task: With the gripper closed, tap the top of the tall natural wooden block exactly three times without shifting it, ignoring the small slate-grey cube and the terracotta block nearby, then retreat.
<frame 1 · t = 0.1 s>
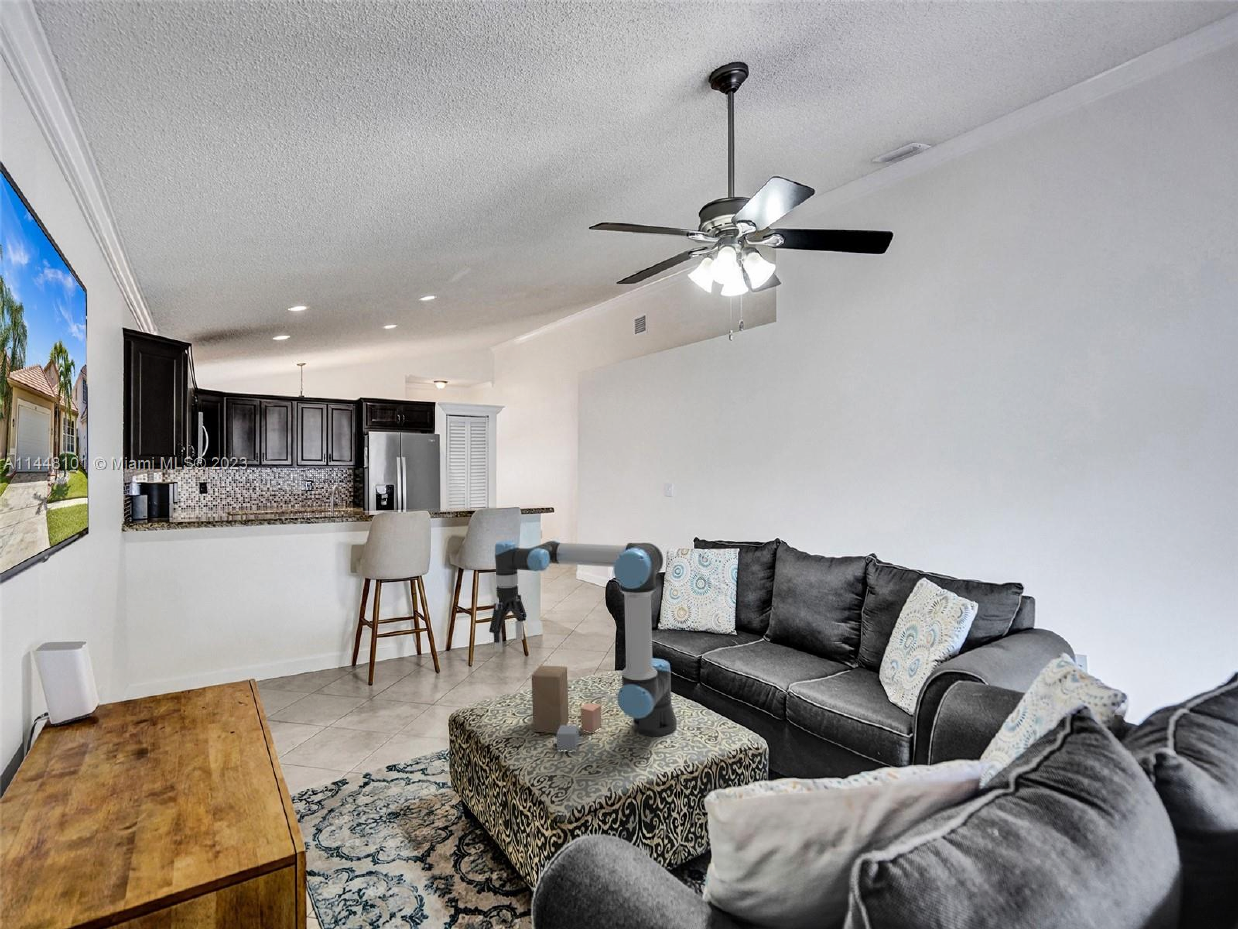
hand: (509, 645, 224), 28 cm above the table, fingers open, 13 cm apart
wooden block: (551, 727, 221), on the table
terracotta block: (591, 729, 218), on the table
slate cube: (568, 747, 206), on the table
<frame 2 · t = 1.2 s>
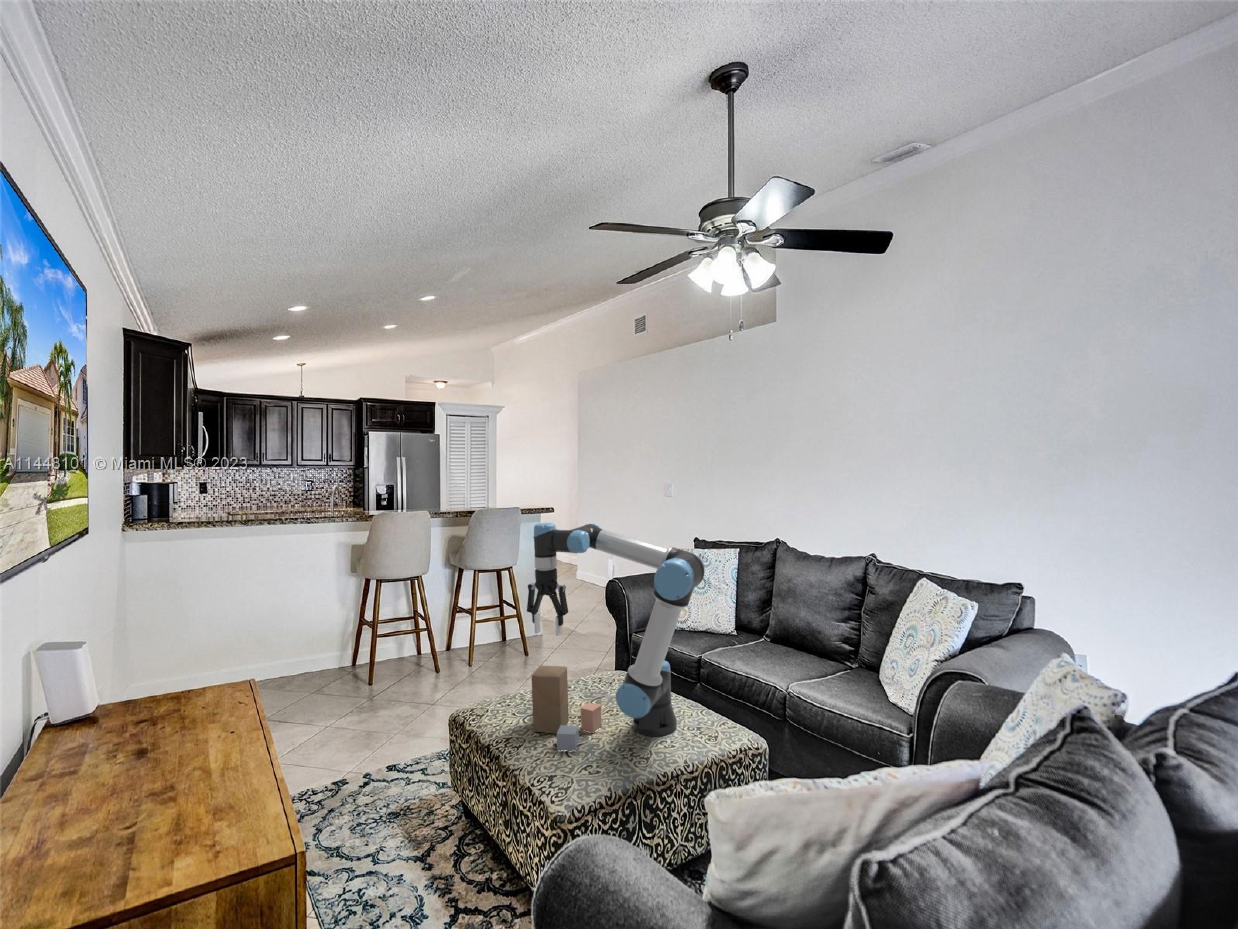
hand: (548, 633, 219), 33 cm above the table, fingers open, 8 cm apart
nothing on the table moved.
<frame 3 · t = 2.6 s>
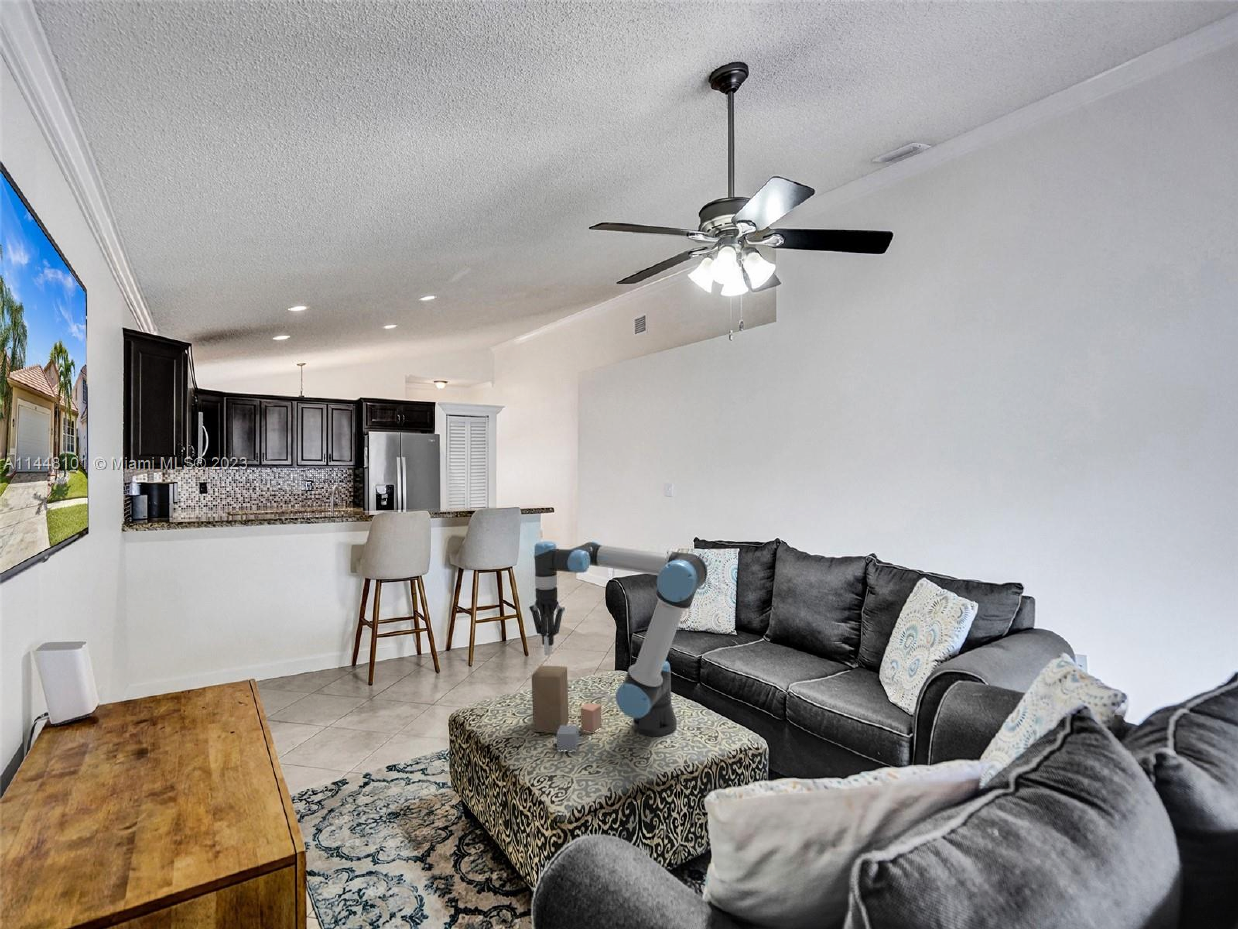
hand: (548, 654, 220), 26 cm above the table, fingers closed
nothing on the table moved.
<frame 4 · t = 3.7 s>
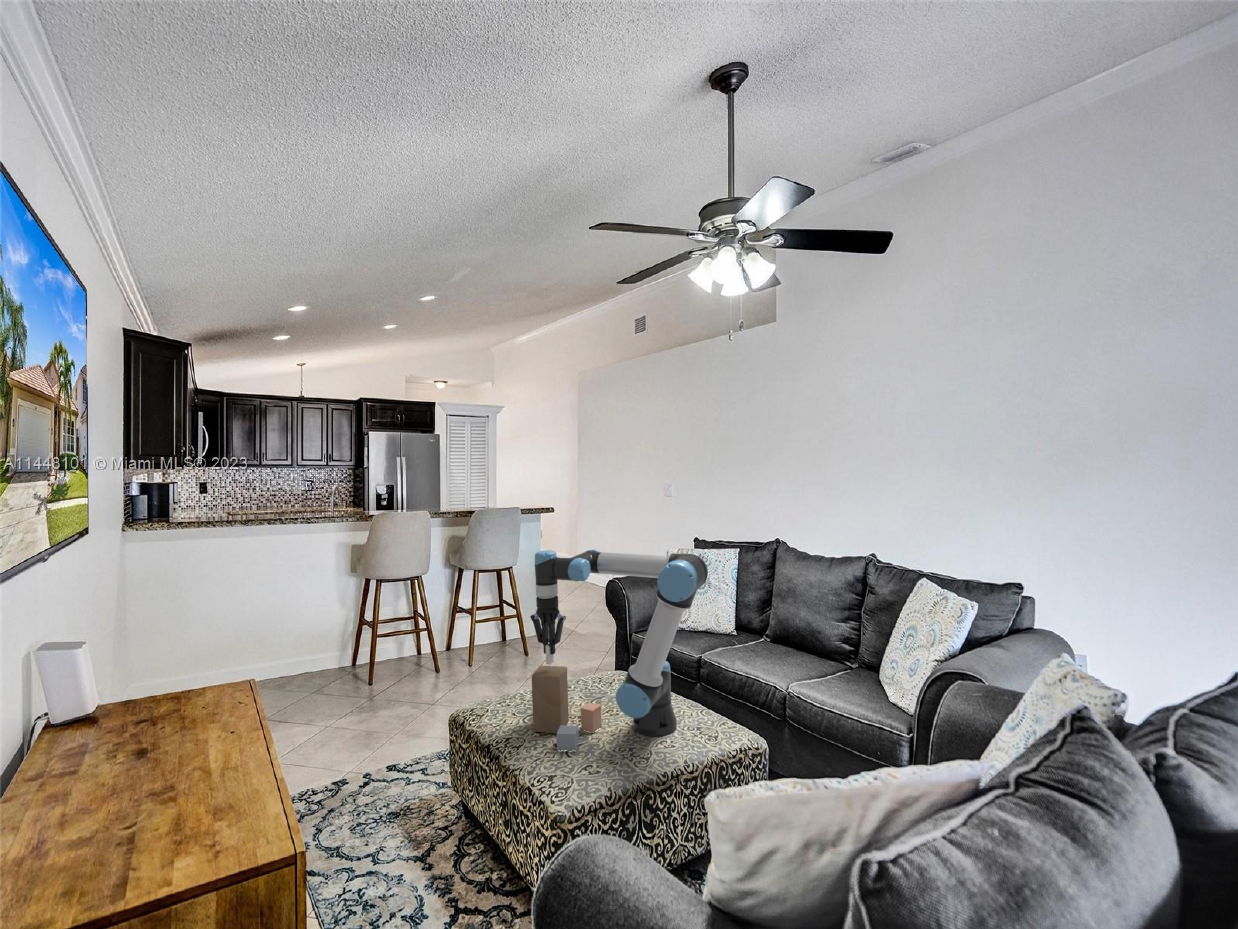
hand: (550, 663, 220), 23 cm above the table, fingers closed
nothing on the table moved.
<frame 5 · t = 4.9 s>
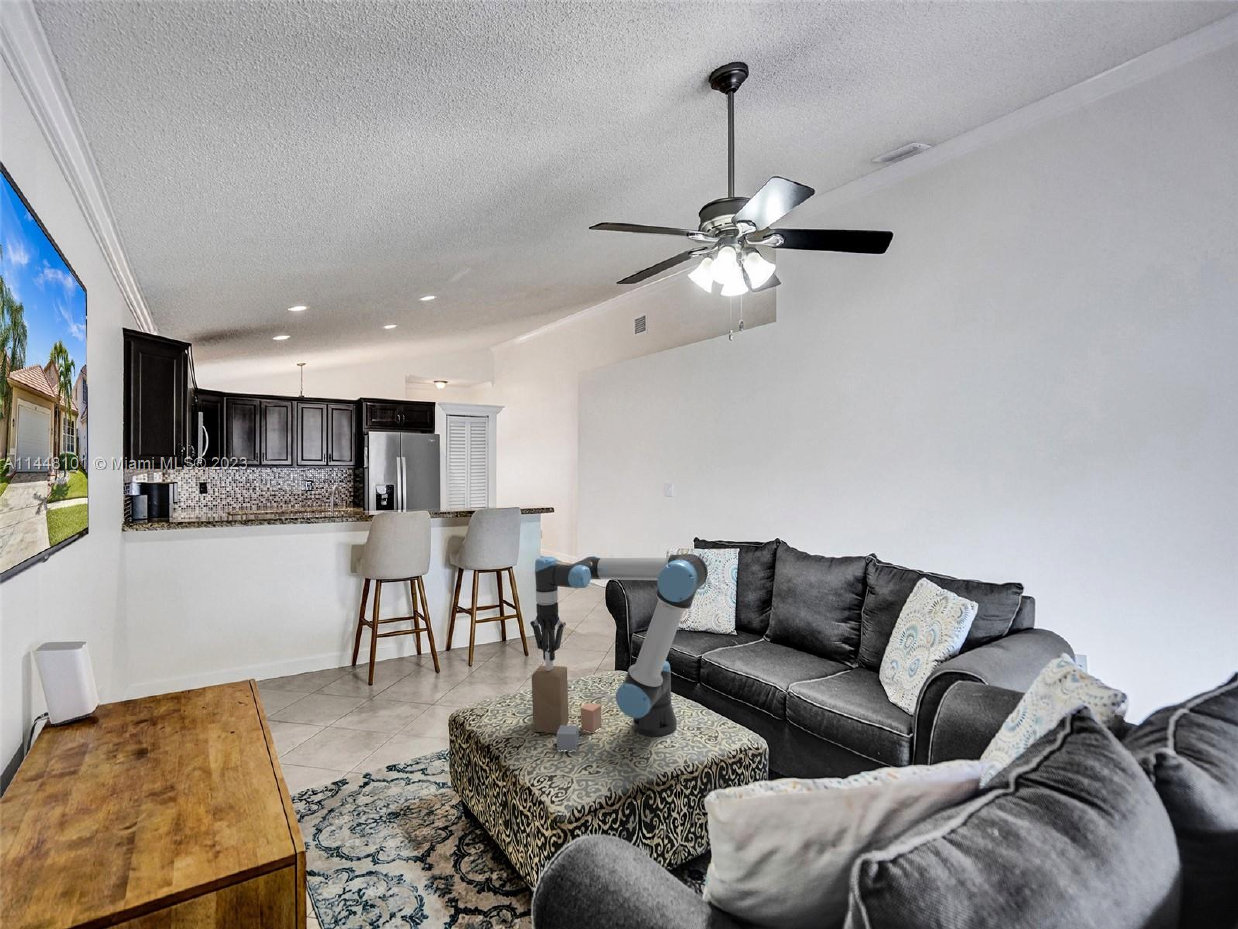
hand: (549, 669, 220), 21 cm above the table, fingers closed
nothing on the table moved.
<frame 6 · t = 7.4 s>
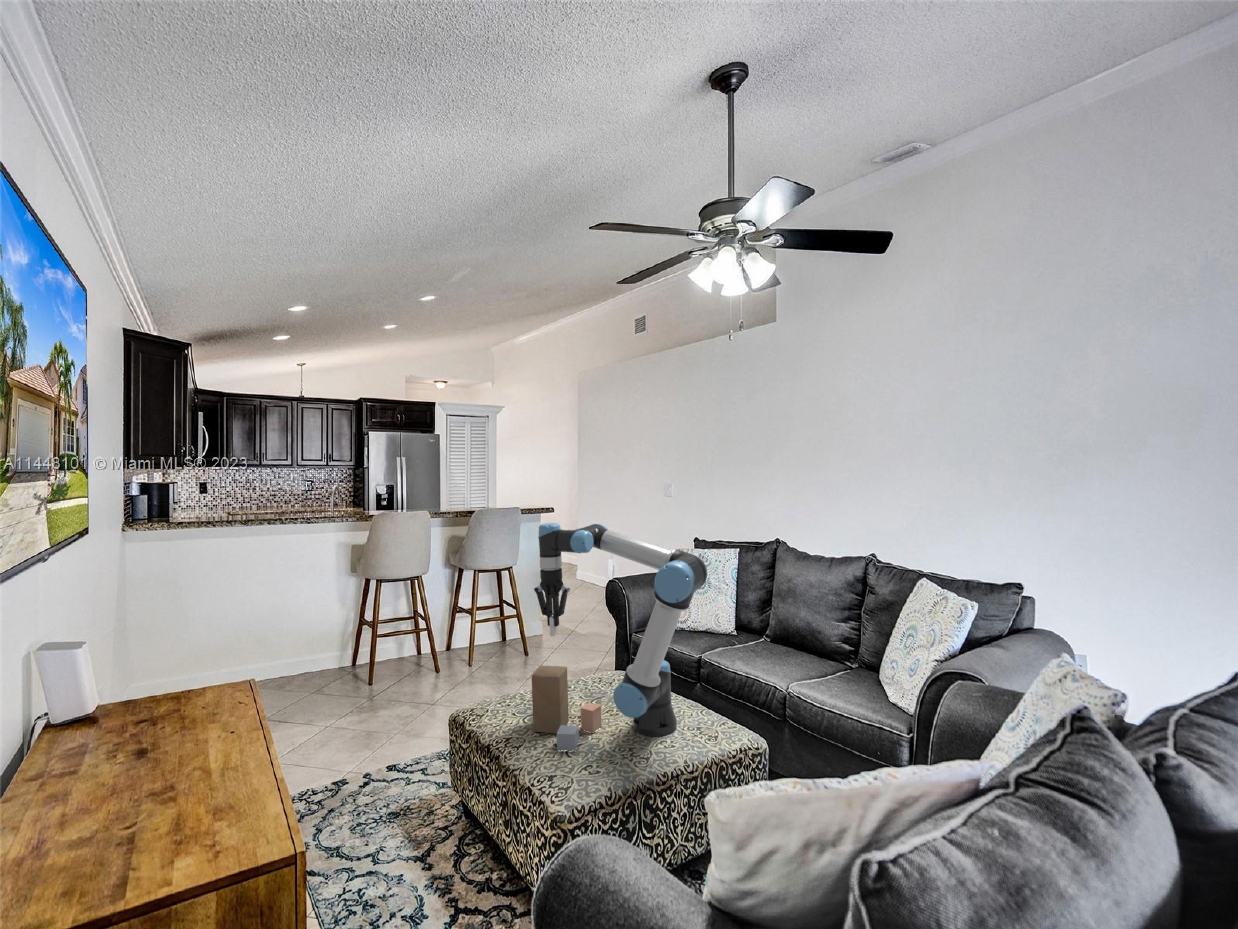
hand: (553, 635, 220), 32 cm above the table, fingers closed
nothing on the table moved.
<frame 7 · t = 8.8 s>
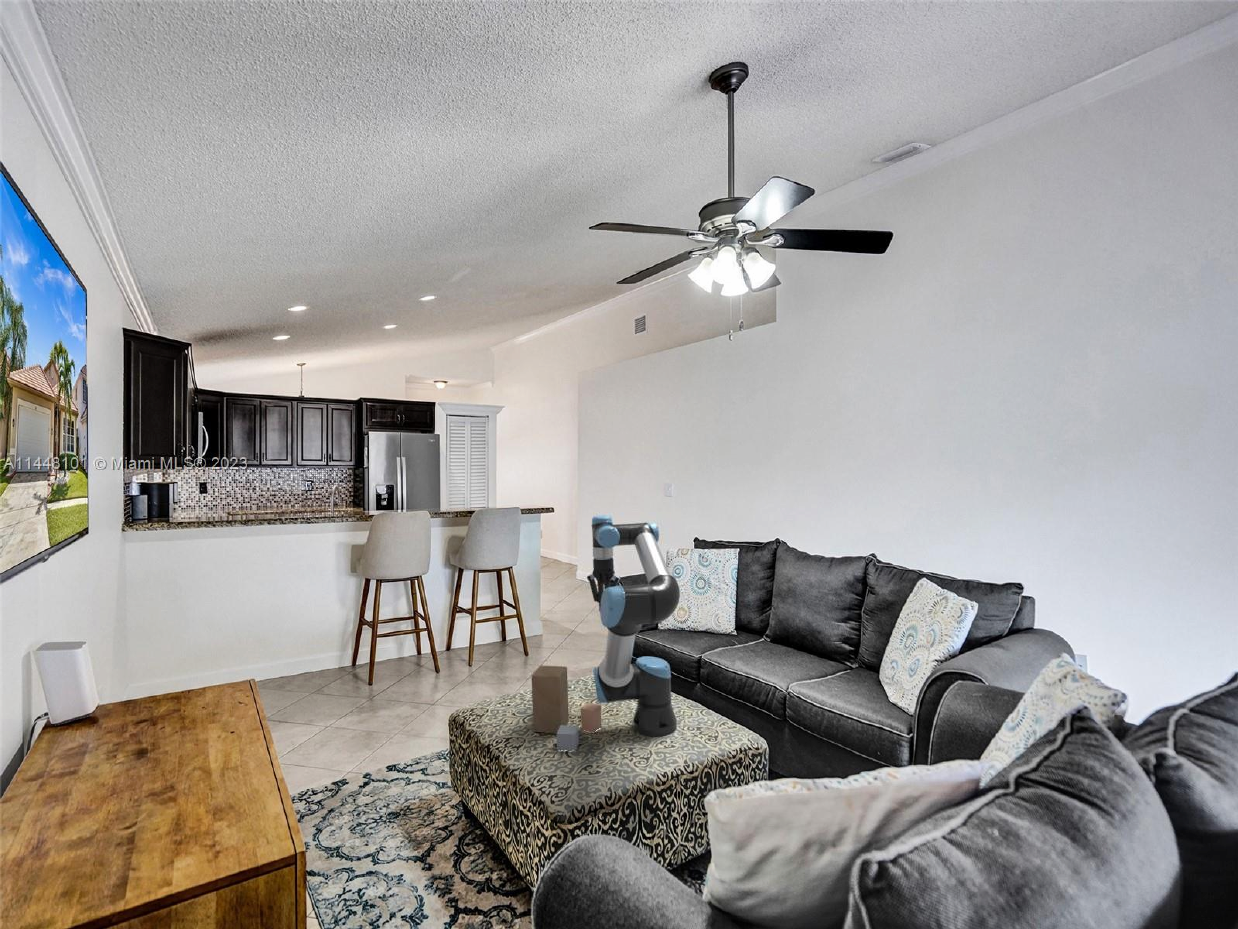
hand: (605, 620, 235), 32 cm above the table, fingers closed
nothing on the table moved.
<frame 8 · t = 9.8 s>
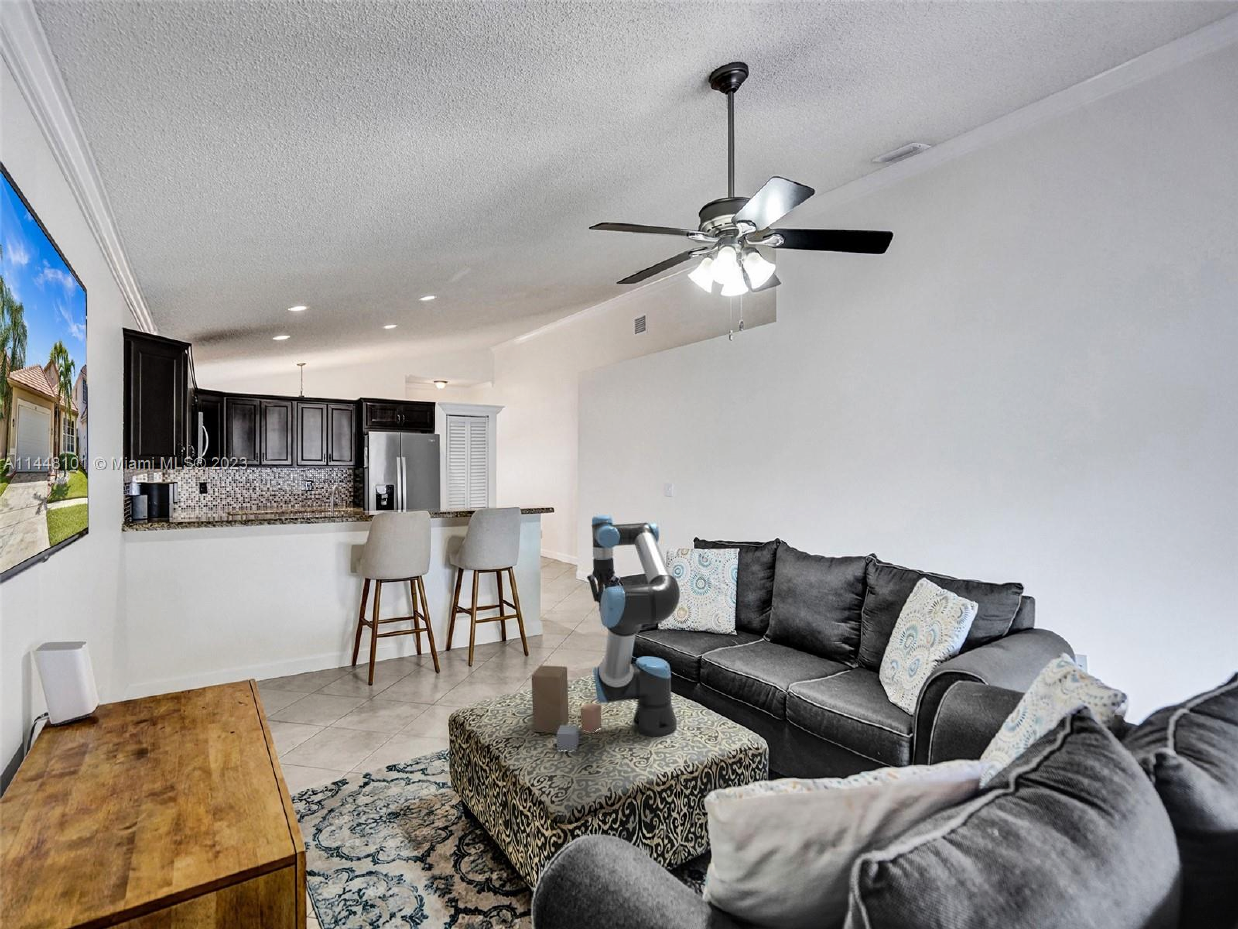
hand: (605, 620, 235), 32 cm above the table, fingers closed
nothing on the table moved.
at the end: wooden block moved 0.2 cm from its start; wooden block tilted 0°; wooden block touching table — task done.
